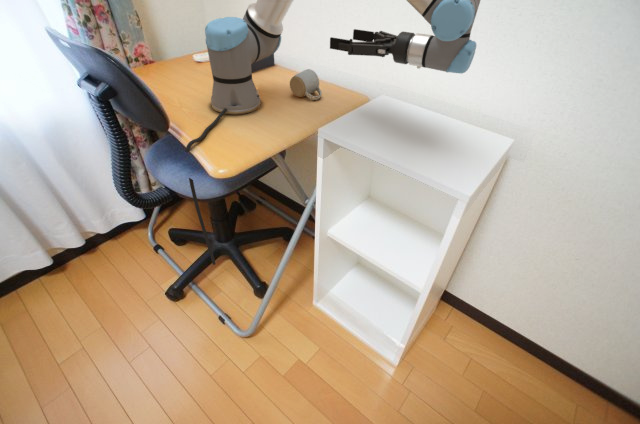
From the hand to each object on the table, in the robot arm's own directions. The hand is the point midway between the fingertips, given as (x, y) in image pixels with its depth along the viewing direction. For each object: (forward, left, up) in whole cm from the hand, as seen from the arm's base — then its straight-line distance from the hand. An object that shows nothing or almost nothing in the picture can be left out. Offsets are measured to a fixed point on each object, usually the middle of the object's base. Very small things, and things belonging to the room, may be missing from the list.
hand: (342, 38), depth 91 cm
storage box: (+9, +49, -20) cm, 54 cm away
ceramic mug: (-1, +12, -20) cm, 23 cm away
